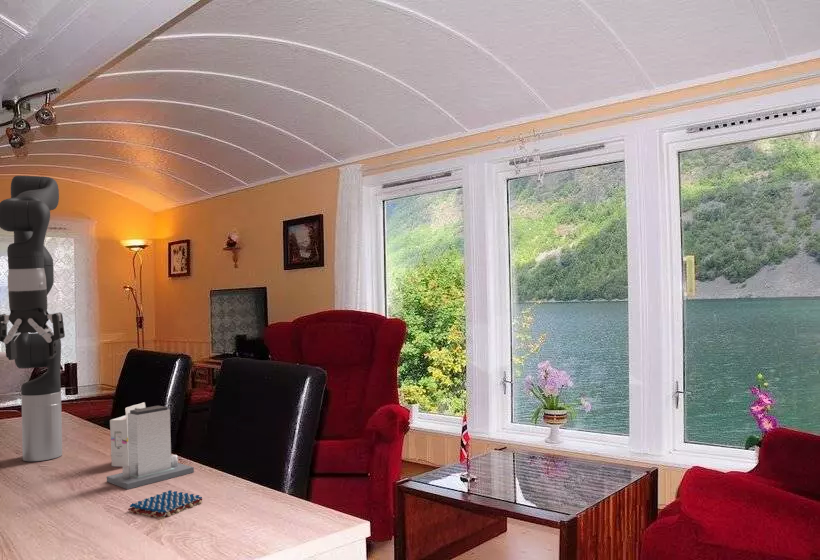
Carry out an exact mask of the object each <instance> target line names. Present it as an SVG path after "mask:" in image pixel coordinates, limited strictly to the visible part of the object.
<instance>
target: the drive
mask: <svg viewBox="0 0 820 560" xmlns="http://www.w3.org/2000/svg"><path fill="white" fill-rule="evenodd" d="M171 439H172V438H171V409H170V408H169V409H168V407H167V406H162V405H154V406H148V407H147V406H146V408H141V409H136V408H135V410H130V413H128V456H129V466H130V475H133V476H136V477H141V476H145V475H149V474H154V473H158V472H162V471H166V470H170V469H171V455H172V442H171V441H172V440H171Z"/></svg>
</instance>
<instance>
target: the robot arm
mask: <svg viewBox="0 0 820 560" xmlns="http://www.w3.org/2000/svg"><path fill="white" fill-rule="evenodd" d="M10 182H11V183H10V198H5V199H3V200H1V201H0V229H2V230H3V231H6V232H11V233H12V232H13V242H11V243H10V244H9V245H8V246H7V249H6V252H7V254H6V255H7V268H8V270H7V271H8V272H7V273H8V274H7V289H8V290H7V292H8V305H9V306H8V308H9V314H7V313H6V314H5V313H3V314H2V313H1V314H0V343H4V345H5V356H6V359H8V361H14V364H15V366H16V367H17V368H18V369H37V368H47V369H46V371H45V372H44V373H42V375H40V376H38V377H36V378H34V379H31V380H29V381H26V382H24V383H22V385H21V387H20V389H21V391H20V392H21V401H20V402H21V438H22V439H21V444H22V445H21V446H22V447H21V448H22V461H24V462H40V461H41V462H42V461H48V460H53V459H57V458H59V457H61V456H63V423H62V421H63V419H62V417H63V416H62V386H61V383H62V382H61V365H62V364H61V361H62V340H61V339H64V338H65V336H66V334H65V325H64V318H63V317H64V316H63V313H62V312H54V313H49V311H48V295H49V293H50V292H51V290H52V288H53V286H54V281H55V278H54V277H55V276H54V274H55V272H54V259H53V257H52V254H51V253H50V252H49V250H48V249H47V247H46V246H45V240H46V235H47V231H48V227H49V224H50V220H51V211H54V210H55V209H57V207H58V205H59V200H60V190H59V186H58V182H57V181H56V180H55V179H54V178H52V177H49V176H39V175H38V176H37V175H15V176H13V177H12V179H11V181H10ZM49 321H50V323H51V324H52V328H50V326H49V325H48V322H49ZM9 322H10V323H11V324H12V327H11V328H10V329H9V330H8V324H9ZM52 329H53V330H52Z"/></svg>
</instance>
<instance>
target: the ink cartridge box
mask: <svg viewBox="0 0 820 560" xmlns="http://www.w3.org/2000/svg"><path fill="white" fill-rule="evenodd" d="M141 408H147V406H146V402H145V401H144V402H141V403H138V404H133V405H130V406H127V407H125V409H124V410H125V411H124V413H125V415H122V416H119V417H116V418H112V419H110V420H109V428H110V429H109V430H110V431H109V432H110V453H111V454H110V455H111V456H110V457H111V458H110V459H111V467H119V468H120V467H121V468H122V467H123V466H129V456H128V413H130V410H135V409H141Z"/></svg>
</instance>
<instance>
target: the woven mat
mask: <svg viewBox="0 0 820 560" xmlns="http://www.w3.org/2000/svg"><path fill="white" fill-rule="evenodd" d="M202 503H203V497H202V496H200V494H196V495H195V494H194V493H191V494H189V493H188V492H185V493H184V492H183V491H180V492H178V491H177V490H175V491H172V490H171V489H169V490H167V491H164V492H163V491H162V493H161V494H156V495H154V496H150V497H148V498H147V497H146V498H144V499H142V500H138V501H136V502H135V503H133V502H132V503H131V504H130V505H129V508H128V509H127V510H128V512H129V513H133V514H137V515H142V516H147V517H152V518H158V519H164V520H165V519H167V517H171V516H175V515H176V514H179V513H181V512H184V510H188V509H189V508H190V509H191V508H193V507H197V506H198V505H202Z"/></svg>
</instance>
